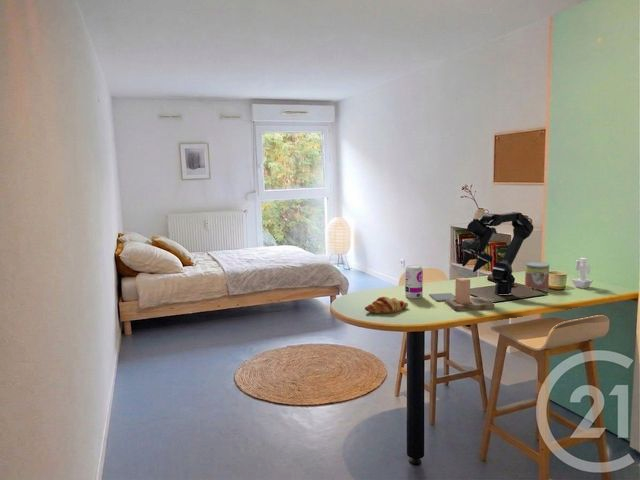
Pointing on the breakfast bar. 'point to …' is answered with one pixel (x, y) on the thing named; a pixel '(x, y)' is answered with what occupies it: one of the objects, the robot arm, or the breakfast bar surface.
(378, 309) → the croissant
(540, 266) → the canned food
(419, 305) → the breakfast bar surface
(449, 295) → the slate pad
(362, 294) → the breakfast bar surface
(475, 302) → the puzzle board
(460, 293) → the terracotta block
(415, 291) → the supplement can
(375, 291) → the breakfast bar surface
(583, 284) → the figurine
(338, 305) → the breakfast bar surface
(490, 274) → the sunglasses case
